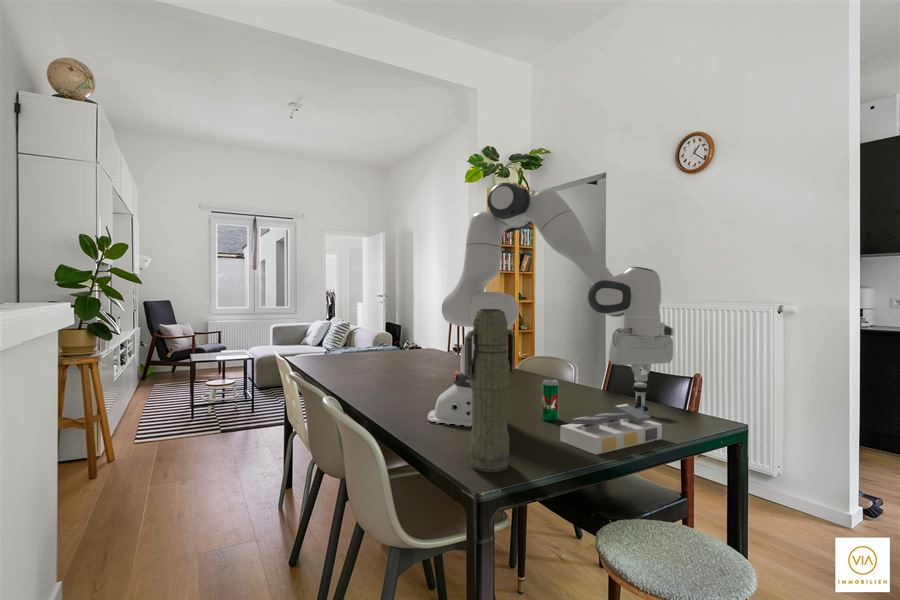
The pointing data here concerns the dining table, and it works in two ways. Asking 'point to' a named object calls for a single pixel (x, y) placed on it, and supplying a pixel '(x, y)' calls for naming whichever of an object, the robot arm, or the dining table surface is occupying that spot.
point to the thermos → (489, 388)
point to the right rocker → (632, 413)
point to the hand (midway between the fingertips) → (640, 381)
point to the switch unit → (610, 435)
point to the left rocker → (590, 420)
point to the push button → (640, 396)
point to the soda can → (550, 400)
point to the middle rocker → (614, 416)
